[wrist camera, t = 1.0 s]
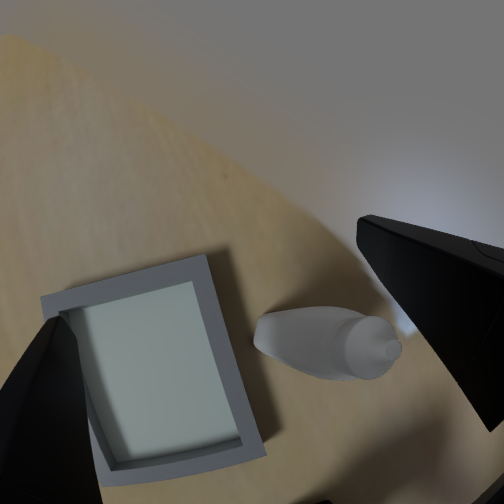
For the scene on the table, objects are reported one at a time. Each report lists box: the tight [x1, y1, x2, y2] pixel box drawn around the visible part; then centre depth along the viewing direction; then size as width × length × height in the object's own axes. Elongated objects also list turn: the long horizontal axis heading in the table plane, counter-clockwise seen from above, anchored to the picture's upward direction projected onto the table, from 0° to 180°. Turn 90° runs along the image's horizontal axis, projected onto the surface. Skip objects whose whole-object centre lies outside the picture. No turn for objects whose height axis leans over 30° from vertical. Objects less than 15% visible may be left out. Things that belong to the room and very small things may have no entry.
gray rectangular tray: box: [40, 254, 267, 487], centre depth 18 cm, size 13×11×2 cm
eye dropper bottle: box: [254, 306, 402, 381], centre depth 15 cm, size 4×6×12 cm
